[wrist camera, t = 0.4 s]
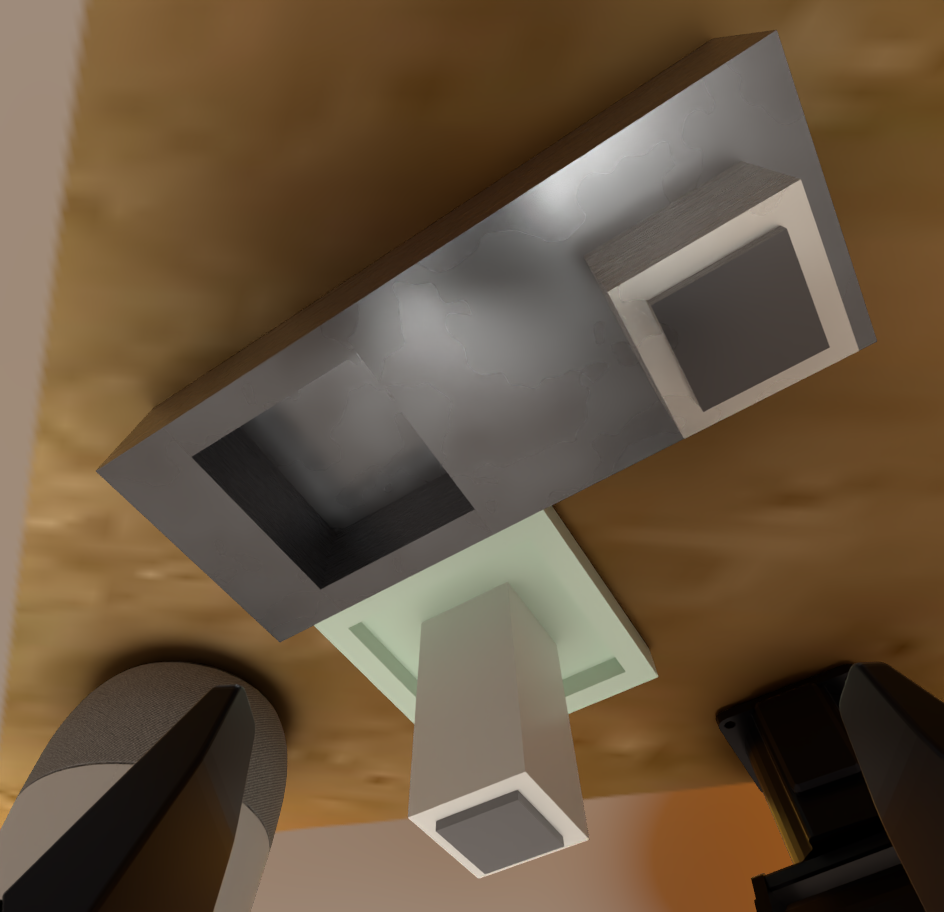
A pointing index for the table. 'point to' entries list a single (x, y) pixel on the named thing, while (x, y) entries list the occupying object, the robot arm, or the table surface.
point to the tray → (537, 584)
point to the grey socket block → (514, 348)
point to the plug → (493, 737)
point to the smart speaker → (121, 745)
